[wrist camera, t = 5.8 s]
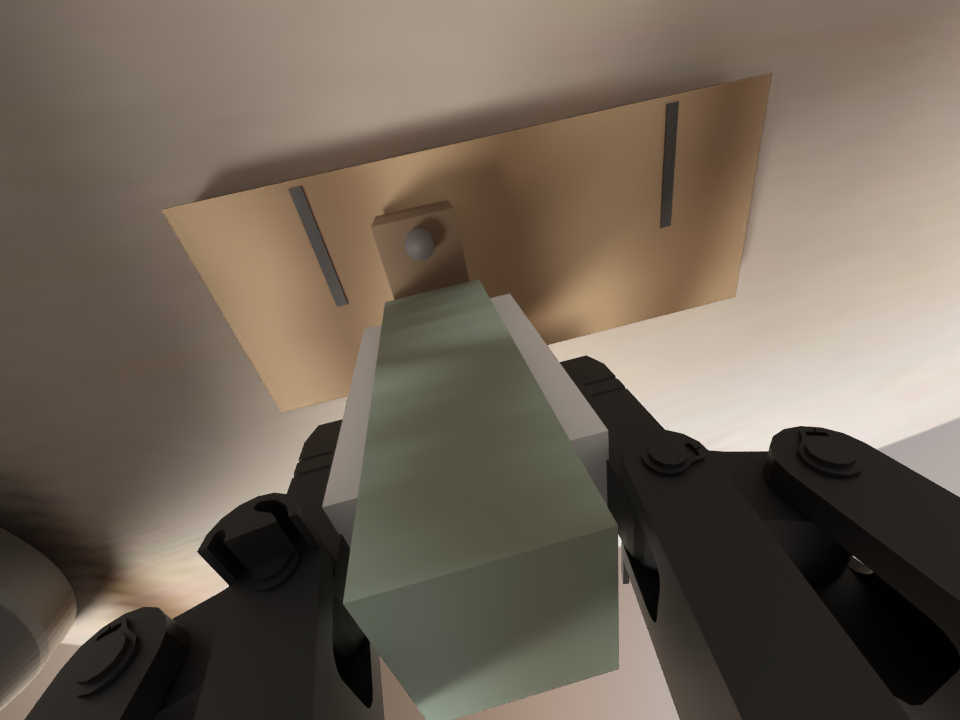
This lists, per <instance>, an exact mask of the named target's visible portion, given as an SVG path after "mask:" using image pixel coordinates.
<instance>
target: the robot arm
mask: <svg viewBox="0 0 960 720" xmlns="http://www.w3.org/2000/svg"><path fill="white" fill-rule="evenodd" d="M490 300H491V301H492V303H493V305H494V307H495V309H496V310H497V312H498V314H499V316H500V317H501V319H502V321H503V323H504V324H505V326H506V328H507V330H508V332H509V333H510V335H511V337H512V339H513V340H514V342H515V344H516V346H517V348H518V349H519V351H520V353H521V355H522V356H523V358H524V360H525V362H526V363H527V365H528V367H529V369H530V371H531V372H532V374H533V376H534V378H535V379H536V381H537V383H538V385H539V386H540V388H541V390H542V392H543V394H544V395H545V397H546V399H547V401H548V402H549V404H550V406H551V408H552V410H553V411H554V413H555V415H556V417H557V418H558V420H559V422H560V424H561V425H562V427H563V429H564V431H565V433H566V434H567V436H568V438H569V440H570V441H571V443H572V445H573V447H574V449H575V450H576V452H577V454H578V456H579V457H580V459H581V461H582V463H583V464H584V466H585V468H586V470H587V472H588V473H589V475H590V477H591V479H592V480H593V482H594V484H595V486H596V487H597V489H598V491H599V493H600V495H601V496H602V498H603V500H604V502H605V503H606V505H607V507H608V509H609V511H610V512H611V514H612V516H613V518H614V519H615V521H616V523H617V525H618V534H619V536H620V538H621V540H622V562H621V567H622V568H621V571H622V579H623V584H627V583H629V578H630V581H631V583H632V586H633V589H634V592H635V595H636V598H637V601H638V603H639V606H640V609H641V612H642V615H643V617H644V620H645V623H646V626H647V629H648V631H649V634H650V637H651V640H652V643H653V645H654V648H655V651H656V654H657V657H658V659H659V662H660V665H661V668H662V671H663V673H664V676H665V679H666V682H667V685H668V687H669V690H670V693H671V696H672V699H673V702H674V705H675V707H676V710H677V713H678V716H679V719H680V720H960V497H958V496H957V495H955V494H953V493H951V492H950V491H948V490H946V489H944V488H942V487H941V486H939V485H937V484H935V483H934V482H932V481H930V480H929V479H927V478H925V477H923V476H922V475H920V474H918V473H916V472H915V471H913V470H911V469H909V468H908V467H906V466H904V465H903V464H901V463H899V462H897V461H895V460H894V459H892V458H890V457H889V456H887V455H885V454H883V453H882V452H880V451H878V450H876V449H875V448H873V447H871V446H869V445H868V444H866V443H864V442H862V441H860V440H857V439H855V438H853V437H851V436H848V435H846V434H844V433H840V432H837V431H833V430H829V429H825V428H820V427H805V426H799V427H794V428H788V429H784V430H782V431H780V432H779V433H777V434H776V435H774V436H773V438H772V441H771V444H770V448H769V451H768V452H721V451H709V450H707V449H706V448H705V447H704V446H703V445H702V444H701V443H700V442H699V441H697V440H695V439H693V438H691V437H688V436H686V435H684V434H681V433H677V432H672V431H668V430H665V429H664V428H663V427H662V426H661V425H660V424H659V423H658V422H657V421H656V420H655V419H654V418H653V416H652V415H651V414H650V413H649V412H648V411H647V410H646V409H645V408H644V407H643V406H642V405H641V403H640V402H639V401H638V400H637V399H636V398H635V397H634V396H633V395H632V394H631V393H630V391H629V390H628V389H625V386H624V385H623V384H622V383H621V382H620V381H619V380H618V378H617V379H616V378H615V375H614V374H613V373H612V372H611V371H610V370H609V369H608V368H607V367H606V365H605V364H603V363H601V362H599V361H597V360H595V359H593V358H591V357H588V356H583V357H579V358H575V359H571V360H567V361H563V362H559V361H558V360H557V358H556V357H555V356H554V354H553V353H552V351H551V350H550V349H549V347H548V346H547V344H546V343H545V342H544V340H543V339H542V338H541V336H540V335H539V333H538V332H537V331H536V329H535V328H534V326H533V325H532V324H531V322H530V321H529V319H528V318H527V317H526V315H525V314H524V312H523V311H522V310H521V308H520V307H519V305H518V304H517V303H516V301H515V300H514V299H513V297H512V296H511V294H506V295H501V296H497V297H493V298H490ZM381 327H382V325H379V326H375V327H370V328H366V329H364V332H363V336H362V340H361V344H360V349H359V353H358V357H357V361H356V365H355V370H354V374H353V378H352V382H351V387H350V391H349V395H348V399H347V404H346V408H345V412H344V416H343V419H342V420H338V421H335V422H331V423H327V424H323V425H319V426H318V427H317V428H316V429H315V431H314V432H313V433H312V434H311V435H310V437H309V438H308V439H307V440H306V442H305V443H304V446H303V449H302V452H301V455H300V457H299V463H297V466H296V469H295V472H294V478H292V480H291V483H290V486H289V489H288V492H287V494H280V493H271V494H267V495H262V496H258V497H256V498H254V499H252V500H250V501H248V502H246V503H244V504H241V505H239V506H238V507H237V508H235V509H234V510H233V511H231V512H230V513H229V514H227V515H226V516H225V517H223V518H222V519H221V520H220V521H219V522H218V523H217V524H216V525H215V526H214V528H213V529H212V530H211V531H210V532H209V533H208V534H207V535H206V537H205V539H204V541H203V542H202V544H201V546H200V548H199V550H198V551H197V552H198V553H199V554H200V555H201V556H202V557H203V559H204V560H205V561H206V562H207V563H208V564H209V565H210V566H211V567H212V568H213V569H214V570H215V571H216V572H217V573H218V574H219V575H220V576H221V577H222V578H223V579H224V580H225V581H226V582H227V583H228V585H229V587H228V588H226V589H225V590H223V591H222V592H220V593H218V594H217V595H215V596H213V597H211V598H209V599H208V600H206V601H204V602H202V603H200V604H199V605H197V606H195V607H193V608H191V609H190V610H188V611H186V612H184V613H182V614H181V615H179V616H177V617H175V618H173V619H171V618H170V617H169V616H168V615H166V614H165V613H164V612H163V611H162V610H160V609H159V608H157V607H142V608H140V609H137V610H134V611H132V612H129V613H126V614H124V615H122V616H121V617H119V618H117V619H116V620H114V621H113V622H111V623H109V624H108V625H106V626H105V627H103V628H102V629H101V630H99V631H98V632H97V633H96V634H95V635H94V636H92V637H91V638H90V639H89V640H88V641H87V642H86V643H84V644H83V645H82V646H81V647H80V648H79V649H78V650H77V651H76V653H75V654H74V655H73V656H72V657H71V658H70V660H69V661H68V662H67V663H66V664H65V665H64V667H63V668H62V669H61V670H60V671H59V673H58V674H57V676H56V677H55V678H54V680H53V681H52V682H51V684H50V685H49V687H48V688H47V689H46V691H45V692H44V694H43V695H42V696H41V698H40V699H39V700H38V702H37V703H36V704H35V706H34V707H33V709H32V710H31V711H30V713H29V714H28V715H27V717H26V718H25V720H384V710H383V697H382V684H381V672H380V660H379V653H378V652H377V651H376V649H375V648H374V646H373V645H372V644H371V642H370V641H369V639H368V638H367V637H366V635H365V634H364V632H363V631H362V630H361V628H360V627H359V626H358V624H357V623H356V621H355V620H354V619H353V617H352V616H351V614H350V613H349V612H348V610H347V609H346V607H345V606H344V605H343V599H344V592H345V585H346V577H347V570H348V563H349V556H350V549H351V542H352V534H353V527H354V520H355V513H356V506H357V499H358V491H359V484H360V477H361V470H362V463H363V456H364V448H365V441H366V434H367V427H368V420H369V413H370V405H371V398H372V391H373V384H374V377H375V370H376V362H377V355H378V348H379V341H380V334H381ZM853 556H855V557H856V558H857V559H858V560H860V561H861V562H862V563H863V564H862V563H861V562H859V561H858V560H857V559H855V558H854V557H853ZM76 612H77V603H76V598H75V594H74V591H73V589H72V587H71V585H70V583H69V582H68V580H67V579H66V577H65V576H64V575H63V573H62V572H61V571H60V570H59V569H58V568H57V566H56V565H55V564H53V563H52V562H51V561H50V560H49V559H48V558H47V557H46V556H44V555H43V554H42V553H41V552H39V551H38V550H37V549H35V548H34V547H32V546H31V545H30V544H28V543H26V542H25V541H23V540H21V539H20V538H18V537H16V536H15V535H13V534H11V533H9V532H7V531H6V530H4V529H2V528H0V711H1V710H2V709H3V708H4V707H6V706H7V705H8V704H9V703H10V702H11V701H12V700H13V699H14V698H15V697H16V696H17V695H18V694H19V693H21V692H22V691H23V690H24V689H25V688H26V687H27V686H28V685H29V684H30V683H31V682H32V681H33V679H34V678H35V677H36V676H37V675H38V674H39V672H40V671H41V670H42V668H43V667H44V666H45V664H46V663H47V661H48V660H49V659H50V657H51V656H52V654H53V653H54V651H55V650H56V649H57V647H58V646H59V644H60V643H61V642H62V640H63V639H64V637H65V636H66V634H67V633H68V632H69V630H70V629H71V627H72V625H73V623H74V620H75V617H76Z"/></svg>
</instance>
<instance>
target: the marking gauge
mask: <svg viewBox="0 0 960 720" xmlns="http://www.w3.org/2000/svg"><path fill="white" fill-rule="evenodd" d="M371 230H372V233H373V236H374V239H375V242H376V245H377V248H378V251H379V254H380V257H381V260H382V263H383V266H384V269H385V273H386V276H387V279H388V282H389V285H390V288H391V291H392V294H393V297H394V300H392V301H387V302H385V305H384V312H383V320H382V327H381V334H380V341H379V348H378V355H377V362H376V370H375V377H374V384H373V391H372V398H371V405H370V413H369V420H368V427H367V434H366V441H365V448H364V456H363V463H362V470H361V477H360V484H359V491H358V499H357V506H356V513H355V520H354V527H353V534H352V542H351V549H350V556H349V563H348V570H347V577H346V585H345V592H344V599H343V605H344V606H345V607H346V609H347V610H348V612H349V613H350V614H351V616H352V617H353V619H354V620H355V621H356V623H357V624H358V626H359V627H360V628H361V630H362V631H363V632H364V634H365V635H366V637H367V638H368V639H369V641H370V642H371V644H372V645H373V646H374V648H375V649H376V651H377V652H378V653H379V655H380V656H381V657H382V659H383V660H384V662H385V663H386V664H387V666H388V667H389V669H390V670H391V671H392V673H393V674H394V676H395V677H396V678H397V680H398V681H399V682H400V684H401V685H402V687H403V688H404V689H405V691H406V692H407V694H408V695H409V696H410V698H411V699H412V701H413V702H414V703H415V705H416V706H417V707H418V709H419V710H420V712H421V713H422V714H423V716H424V717H425V719H426V720H454V719H457V718H460V717H464V716H466V715H470V714H473V713H477V712H480V711H483V710H486V709H490V708H493V707H496V706H500V705H503V704H506V703H509V702H512V701H515V700H519V699H522V698H526V697H529V696H532V695H536V694H539V693H542V692H545V691H549V690H552V689H555V688H558V687H562V686H565V685H568V684H572V683H575V682H578V681H581V680H585V679H588V678H591V677H594V676H598V675H601V674H604V673H608V672H611V671H614V670H617V669H619V630H618V627H619V626H618V625H619V624H618V623H619V622H618V621H619V619H618V525H617V523H616V521H615V519H614V518H613V516H612V514H611V512H610V511H609V509H608V507H607V505H606V503H605V502H604V500H603V498H602V496H601V495H600V493H599V491H598V489H597V487H596V486H595V484H594V482H593V480H592V479H591V477H590V475H589V473H588V472H587V470H586V468H585V466H584V464H583V463H582V461H581V459H580V457H579V456H578V454H577V452H576V450H575V449H574V447H573V445H572V443H571V441H570V440H569V438H568V436H567V434H566V433H565V431H564V429H563V427H562V425H561V424H560V422H559V420H558V418H557V417H556V415H555V413H554V411H553V410H552V408H551V406H550V404H549V402H548V401H547V399H546V397H545V395H544V394H543V392H542V390H541V388H540V386H539V385H538V383H537V381H536V379H535V378H534V376H533V374H532V372H531V371H530V369H529V367H528V365H527V363H526V362H525V360H524V358H523V356H522V355H521V353H520V351H519V349H518V348H517V346H516V344H515V342H514V340H513V339H512V337H511V335H510V333H509V332H508V330H507V328H506V326H505V324H504V323H503V321H502V319H501V317H500V316H499V314H498V312H497V310H496V309H495V307H494V305H493V303H492V301H491V300H490V298H489V296H488V294H487V293H486V291H485V289H484V287H483V285H482V284H481V282H480V280H479V279H478V280H473V281H469V276H468V271H467V267H466V262H465V257H464V253H463V248H462V243H461V239H460V234H459V229H458V224H457V220H456V215H455V210H454V207H453V206H452V205H451V204H450V202H449V201H448V200H444V201H440V202H436V203H431V204H427V205H423V206H418V207H414V208H410V209H405V210H401V211H397V212H393V213H388V214H384V215H380V216H376V217H375V219H374V221H373V223H372V225H371Z"/></svg>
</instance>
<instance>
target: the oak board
mask: <svg viewBox="0 0 960 720" xmlns="http://www.w3.org/2000/svg"><path fill="white" fill-rule="evenodd" d="M771 76H772V73H770V74H765V75H760V76H755V77H751V78H746V79H741V80H737V81H732V82H727V83H723V84H718V85H714V86H709V87H705V88H700V89H696V90H691V91H687V92H682V93H678V94H674V95H669V96H665V97H660V98H656V99H651V100H647V101H642V102H638V103H633V104H629V105H624V106H620V107H616V108H611V109H607V110H602V111H598V112H593V113H589V114H584V115H580V116H575V117H571V118H566V119H562V120H558V121H553V122H549V123H544V124H540V125H535V126H531V127H526V128H522V129H517V130H513V131H508V132H504V133H500V134H495V135H491V136H486V137H482V138H477V139H473V140H468V141H464V142H459V143H455V144H450V145H446V146H442V147H437V148H433V149H428V150H424V151H419V152H415V153H410V154H406V155H401V156H397V157H392V158H388V159H384V160H379V161H375V162H370V163H366V164H361V165H357V166H352V167H348V168H343V169H339V170H334V171H330V172H326V173H321V174H317V175H312V176H308V177H303V178H299V179H294V180H290V181H285V182H281V183H276V184H272V185H268V186H263V187H259V188H254V189H250V190H245V191H241V192H236V193H232V194H227V195H223V196H218V197H214V198H210V199H205V200H201V201H196V202H192V203H188V204H184V205H180V206H175V207H171V208H167V209H163V210H162V212H163V214H164V215H165V217H166V219H167V220H168V222H169V224H170V225H171V227H172V229H173V230H174V232H175V234H176V236H177V237H178V239H179V241H180V242H181V244H182V246H183V247H184V249H185V251H186V253H187V254H188V256H189V258H190V259H191V261H192V263H193V264H194V266H195V268H196V270H197V271H198V273H199V275H200V276H201V278H202V280H203V281H204V283H205V285H206V287H207V288H208V290H209V292H210V293H211V295H212V297H213V298H214V300H215V302H216V303H217V305H218V307H219V309H220V310H221V312H222V314H223V315H224V317H225V319H226V320H227V322H228V324H229V326H230V327H231V329H232V331H233V332H234V334H235V336H236V337H237V339H238V341H239V343H240V344H241V346H242V348H243V349H244V351H245V353H246V354H247V356H248V358H249V360H250V361H251V363H252V365H253V366H254V368H255V370H256V371H257V373H258V375H259V377H260V378H261V380H262V382H263V383H264V385H265V387H266V388H267V390H268V392H269V393H270V395H271V397H272V399H273V400H274V402H275V404H276V405H277V407H278V409H279V410H280V412H281V413H283V412H287V411H291V410H295V409H299V408H303V407H307V406H311V405H315V404H318V403H322V402H326V401H330V400H334V399H338V398H342V397H346V396H348V395H349V391H350V387H351V382H352V378H353V374H354V370H355V365H356V361H357V357H358V353H359V349H360V344H361V340H362V336H363V332H364V329H366V328H370V327H375V326H379V325H382V320H383V312H384V305H385V302H387V301H392V300H394V297H393V294H392V291H391V288H390V285H389V282H388V279H387V276H386V273H385V269H384V266H383V263H382V260H381V257H380V254H379V251H378V248H377V245H376V242H375V239H374V236H373V233H372V230H371V225H372V223H373V221H374V219H375V217H376V216H380V215H384V214H388V213H393V212H397V211H401V210H405V209H410V208H414V207H418V206H423V205H427V204H431V203H436V202H440V201H444V200H448V201H449V202H450V204H451V205H452V206H453V207H454V210H455V215H456V220H457V224H458V229H459V234H460V239H461V243H462V248H463V253H464V257H465V262H466V267H467V271H468V276H469V281H473V280H478V279H479V280H480V282H481V284H482V285H483V287H484V289H485V291H486V293H487V294H488V296H489V298H493V297H497V296H501V295H506V294H511V296H512V297H513V299H514V300H515V301H516V303H517V304H518V305H519V307H520V308H521V310H522V311H523V312H524V314H525V315H526V317H527V318H528V319H529V321H530V322H531V324H532V325H533V326H534V328H535V329H536V331H537V332H538V333H539V335H540V336H541V338H542V339H543V340H544V342H545V343H546V344H547V345H549V344H553V343H557V342H561V341H565V340H569V339H572V338H576V337H580V336H584V335H588V334H592V333H596V332H600V331H604V330H608V329H612V328H615V327H619V326H623V325H627V324H631V323H635V322H639V321H643V320H647V319H651V318H655V317H658V316H662V315H666V314H670V313H674V312H678V311H682V310H686V309H690V308H694V307H697V306H701V305H705V304H709V303H713V302H717V301H721V300H725V299H729V298H733V297H735V295H736V289H737V282H738V276H739V270H740V264H741V258H742V252H743V246H744V240H745V234H746V228H747V222H748V216H749V210H750V204H751V198H752V192H753V185H754V179H755V173H756V167H757V161H758V155H759V149H760V143H761V137H762V131H763V125H764V119H765V113H766V107H767V101H768V94H769V88H770V82H771Z"/></svg>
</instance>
